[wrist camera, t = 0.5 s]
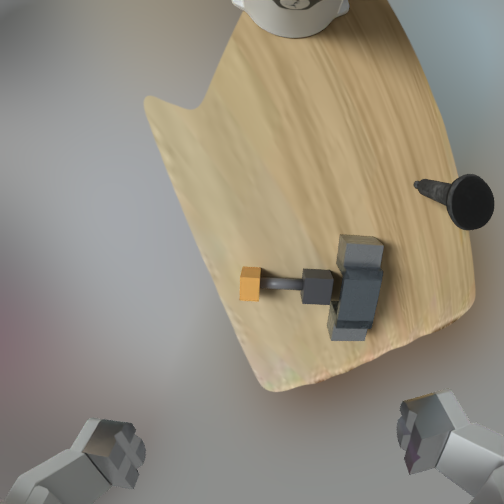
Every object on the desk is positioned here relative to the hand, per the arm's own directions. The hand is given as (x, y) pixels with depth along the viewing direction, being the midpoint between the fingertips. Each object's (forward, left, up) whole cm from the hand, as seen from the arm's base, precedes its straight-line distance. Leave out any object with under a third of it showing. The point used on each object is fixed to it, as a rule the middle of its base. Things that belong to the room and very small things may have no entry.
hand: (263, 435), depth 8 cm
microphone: (-4, +24, -44) cm, 50 cm away
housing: (+14, +14, -44) cm, 48 cm away
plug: (+14, +3, -44) cm, 46 cm away
